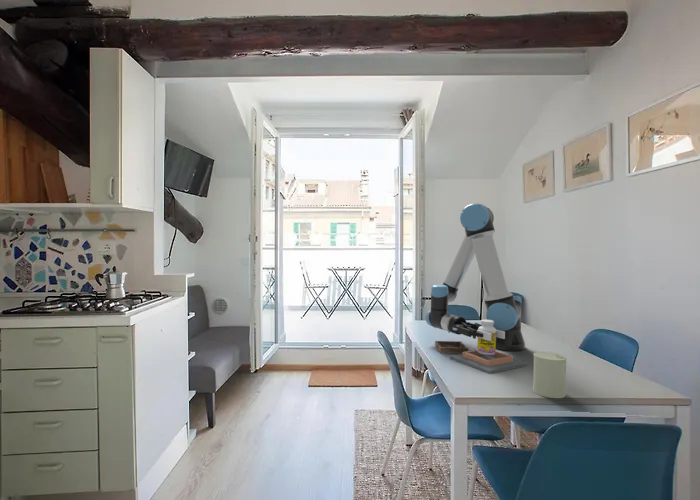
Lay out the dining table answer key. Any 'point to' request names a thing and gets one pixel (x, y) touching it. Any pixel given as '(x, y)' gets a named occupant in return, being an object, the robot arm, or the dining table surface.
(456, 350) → the collar
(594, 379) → the dining table surface
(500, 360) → the collar
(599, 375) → the dining table surface
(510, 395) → the dining table surface
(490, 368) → the mat
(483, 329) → the supplement bottle
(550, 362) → the can
